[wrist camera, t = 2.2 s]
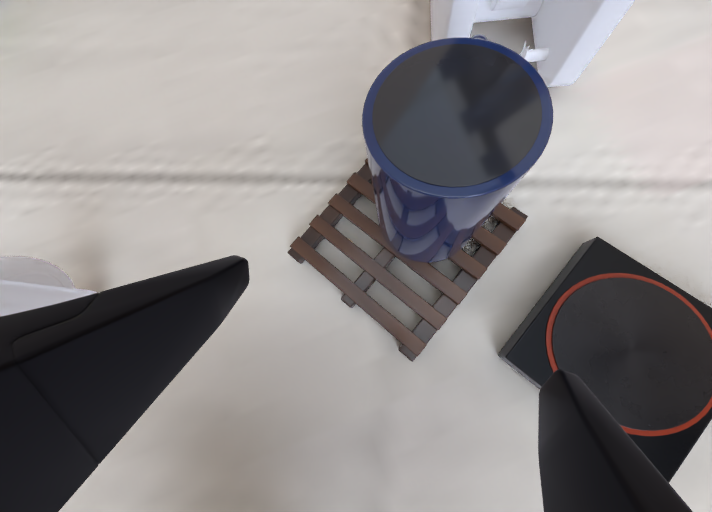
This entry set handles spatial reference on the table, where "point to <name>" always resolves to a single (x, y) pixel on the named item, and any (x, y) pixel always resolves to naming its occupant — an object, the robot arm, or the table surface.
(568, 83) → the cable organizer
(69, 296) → the headset
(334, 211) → the rack
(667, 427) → the hot plate
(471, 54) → the blue mug
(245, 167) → the table surface
